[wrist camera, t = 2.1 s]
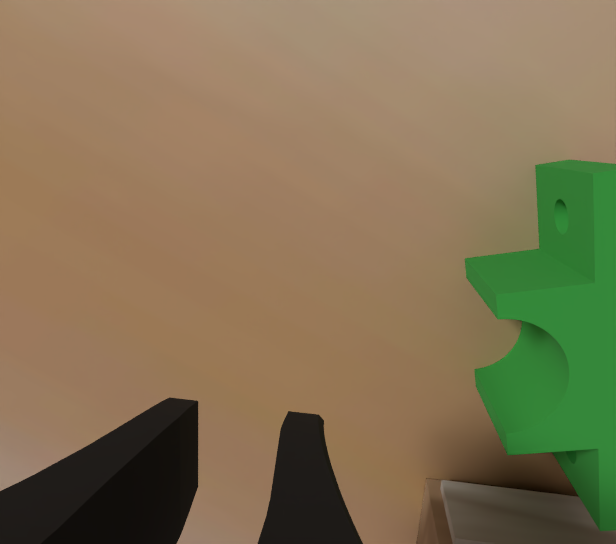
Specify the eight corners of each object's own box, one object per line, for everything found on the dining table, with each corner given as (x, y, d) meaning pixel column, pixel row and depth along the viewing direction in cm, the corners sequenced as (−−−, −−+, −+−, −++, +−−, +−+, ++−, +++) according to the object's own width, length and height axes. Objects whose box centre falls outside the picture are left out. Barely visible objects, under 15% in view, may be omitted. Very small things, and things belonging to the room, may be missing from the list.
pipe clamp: (455, 176, 17) (487, 186, 13) (566, 159, 17) (640, 163, 12) (480, 451, 20) (514, 539, 15) (577, 444, 19) (641, 533, 15)
